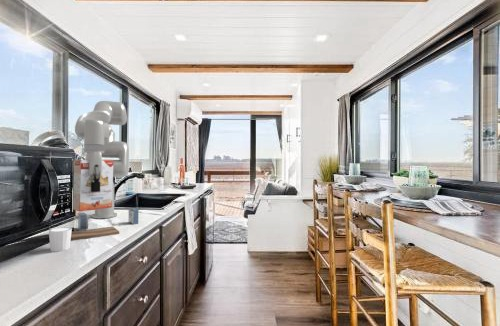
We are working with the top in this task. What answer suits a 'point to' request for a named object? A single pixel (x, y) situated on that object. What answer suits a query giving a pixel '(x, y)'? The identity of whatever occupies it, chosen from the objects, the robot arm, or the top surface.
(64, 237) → the white short tapered cylinder
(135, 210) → the twin grey pillars
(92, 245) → the top surface
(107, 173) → the cracker box
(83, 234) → the walnut board
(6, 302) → the top surface
